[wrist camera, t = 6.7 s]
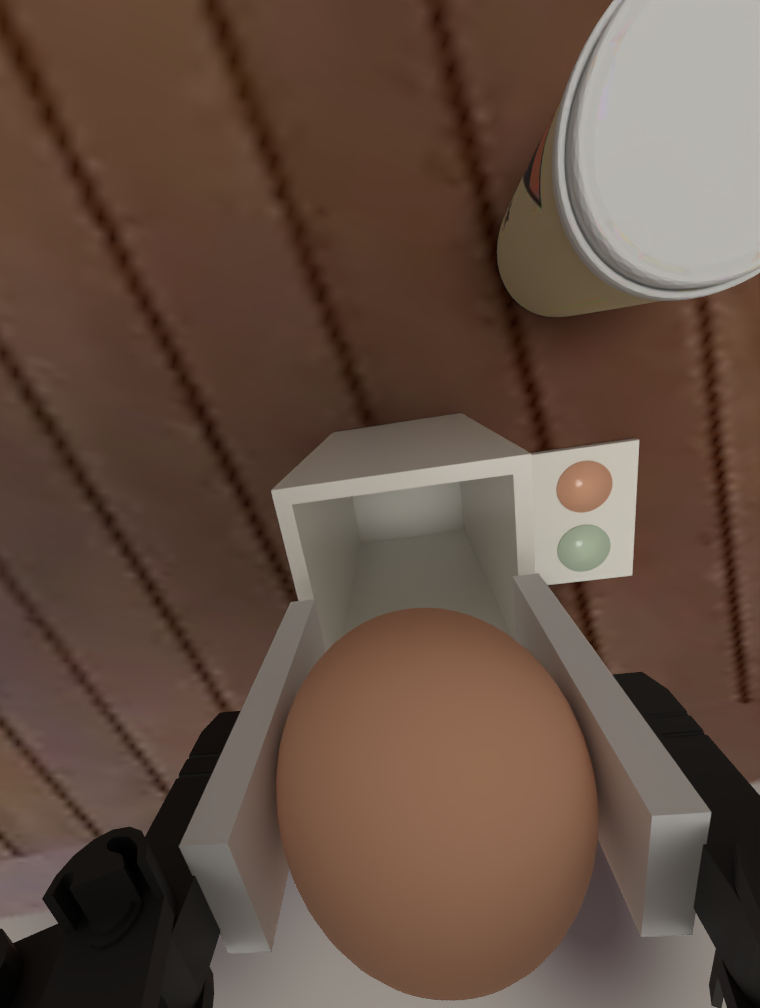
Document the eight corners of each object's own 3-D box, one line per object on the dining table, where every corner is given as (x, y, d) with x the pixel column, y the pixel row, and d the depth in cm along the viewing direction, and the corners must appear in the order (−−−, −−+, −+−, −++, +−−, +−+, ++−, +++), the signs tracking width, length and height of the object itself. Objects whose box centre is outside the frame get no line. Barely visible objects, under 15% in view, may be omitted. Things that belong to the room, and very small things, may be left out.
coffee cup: (583, 100, 21) (817, -241, 9) (678, 246, 22) (971, 114, 11) (448, 244, 23) (502, 114, 11) (545, 365, 25) (673, 358, 13)
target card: (526, 453, 26) (530, 455, 26) (634, 438, 26) (641, 440, 25) (531, 582, 30) (535, 587, 29) (627, 571, 29) (633, 576, 28)
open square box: (333, 432, 27) (270, 490, 13) (461, 412, 26) (531, 453, 13) (354, 547, 29) (321, 692, 16) (471, 533, 28) (538, 671, 15)
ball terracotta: (290, 574, 10) (153, 837, 4) (526, 545, 10) (720, 798, 4) (333, 748, 12) (278, 1091, 6) (534, 731, 11) (672, 1087, 6)
